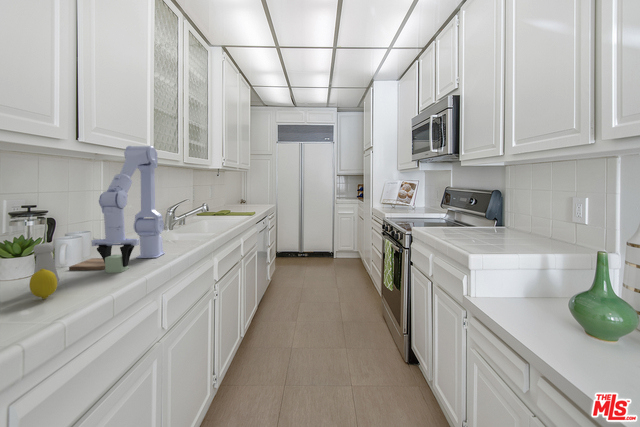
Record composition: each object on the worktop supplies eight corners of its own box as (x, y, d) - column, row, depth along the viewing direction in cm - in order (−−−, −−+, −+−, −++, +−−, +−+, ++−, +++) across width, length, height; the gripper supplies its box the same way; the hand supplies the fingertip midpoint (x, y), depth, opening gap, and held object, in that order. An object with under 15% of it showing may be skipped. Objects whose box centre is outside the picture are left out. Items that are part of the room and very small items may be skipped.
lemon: (46, 302, 84) (44, 271, 83) (24, 302, 84) (22, 271, 83) (63, 295, 90) (61, 266, 89) (43, 295, 90) (41, 266, 89)
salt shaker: (38, 294, 90) (34, 246, 89) (29, 290, 94) (25, 244, 92) (63, 288, 95) (60, 243, 94) (54, 285, 98) (51, 241, 97)
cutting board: (91, 261, 128) (91, 258, 128) (121, 260, 129) (121, 257, 129) (69, 270, 115) (69, 266, 115) (102, 269, 116) (102, 266, 116)
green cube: (113, 268, 117) (112, 254, 117) (128, 268, 118) (127, 254, 117) (105, 272, 112) (104, 257, 112) (121, 272, 113) (120, 257, 112)
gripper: (84, 228, 109) (87, 269, 110) (131, 228, 110) (133, 268, 111) (97, 225, 116) (99, 264, 117) (141, 225, 117) (143, 263, 118)
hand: (117, 266), depth 115 cm, fingers closed on green cube, 5 cm apart
